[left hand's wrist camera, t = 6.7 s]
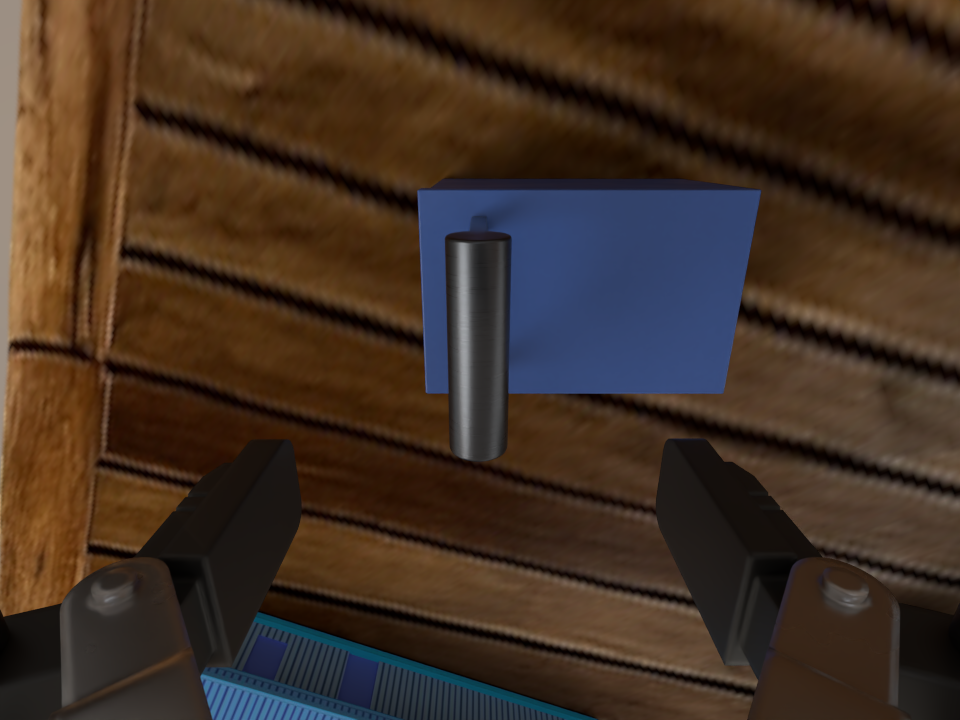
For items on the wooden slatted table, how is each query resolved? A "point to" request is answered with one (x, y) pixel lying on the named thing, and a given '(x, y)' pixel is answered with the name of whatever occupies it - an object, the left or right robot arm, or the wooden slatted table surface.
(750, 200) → the lid
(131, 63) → the wooden slatted table surface
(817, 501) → the wooden slatted table surface
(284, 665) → the model building
